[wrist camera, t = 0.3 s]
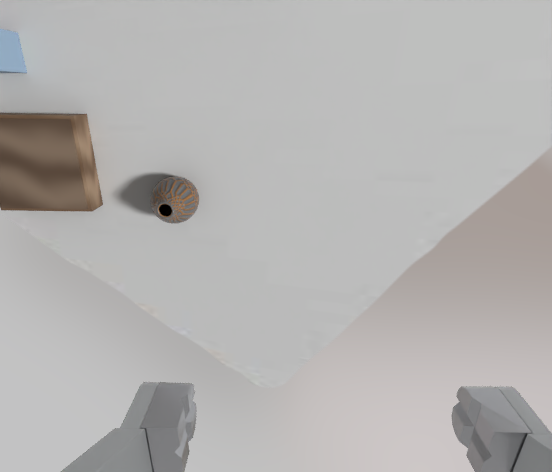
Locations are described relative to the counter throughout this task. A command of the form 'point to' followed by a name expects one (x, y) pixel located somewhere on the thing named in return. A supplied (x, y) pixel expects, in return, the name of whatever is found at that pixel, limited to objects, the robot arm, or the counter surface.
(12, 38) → the slate block
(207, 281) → the counter surface
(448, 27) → the counter surface
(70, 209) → the walnut plinth
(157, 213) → the vase
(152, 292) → the counter surface
